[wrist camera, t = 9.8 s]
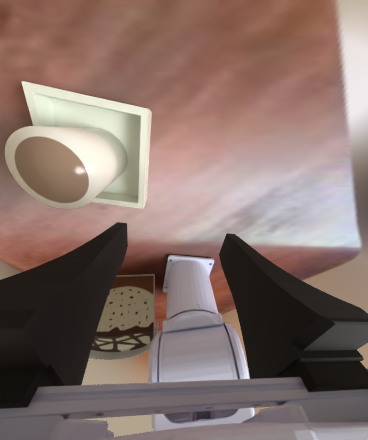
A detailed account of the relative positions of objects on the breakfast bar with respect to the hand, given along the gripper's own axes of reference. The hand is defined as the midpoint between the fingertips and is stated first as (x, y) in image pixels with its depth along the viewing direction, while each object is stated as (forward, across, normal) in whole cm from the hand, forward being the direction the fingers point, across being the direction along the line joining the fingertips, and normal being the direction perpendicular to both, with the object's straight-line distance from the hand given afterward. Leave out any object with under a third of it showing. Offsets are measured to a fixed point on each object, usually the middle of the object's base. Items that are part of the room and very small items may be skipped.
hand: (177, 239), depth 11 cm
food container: (+11, +6, +20) cm, 23 cm away
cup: (+10, +8, -3) cm, 13 cm away
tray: (+10, +8, -3) cm, 14 cm away
